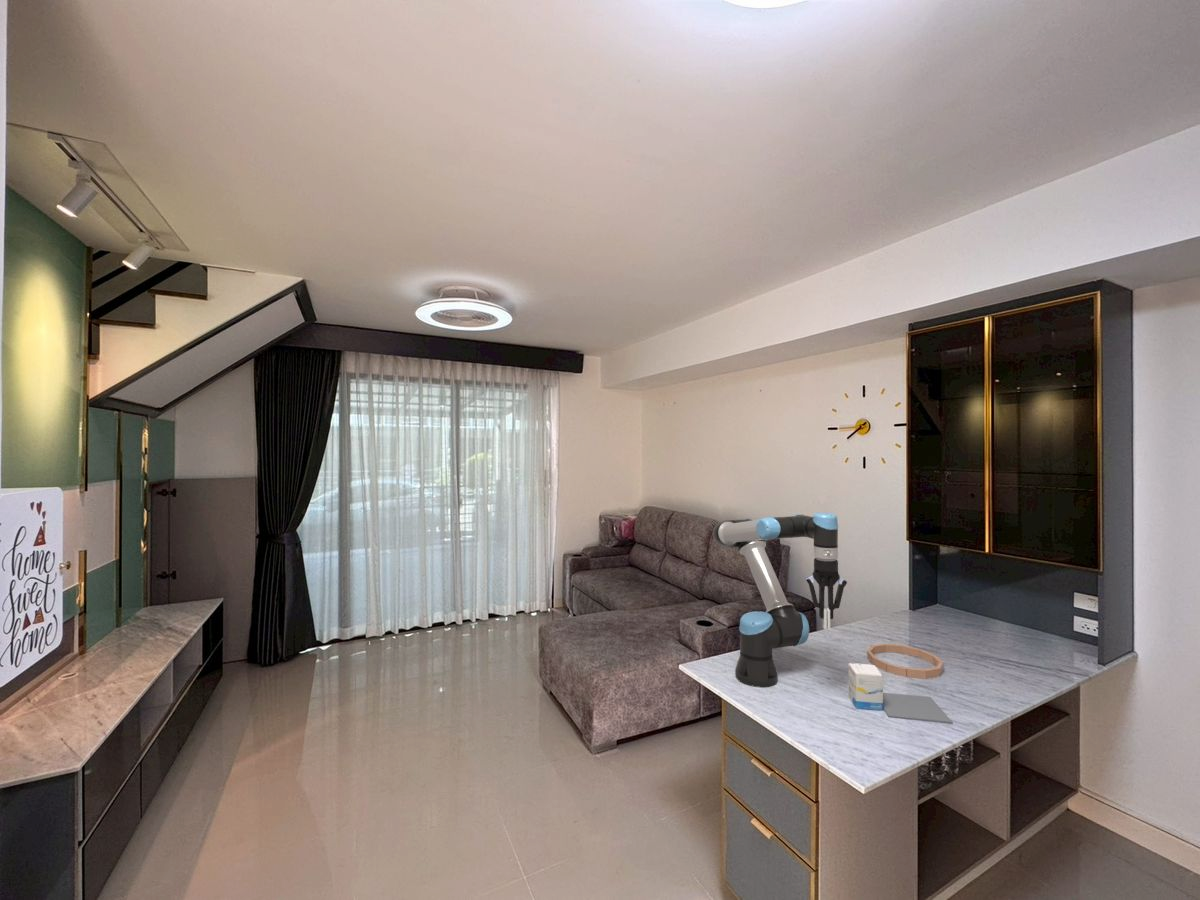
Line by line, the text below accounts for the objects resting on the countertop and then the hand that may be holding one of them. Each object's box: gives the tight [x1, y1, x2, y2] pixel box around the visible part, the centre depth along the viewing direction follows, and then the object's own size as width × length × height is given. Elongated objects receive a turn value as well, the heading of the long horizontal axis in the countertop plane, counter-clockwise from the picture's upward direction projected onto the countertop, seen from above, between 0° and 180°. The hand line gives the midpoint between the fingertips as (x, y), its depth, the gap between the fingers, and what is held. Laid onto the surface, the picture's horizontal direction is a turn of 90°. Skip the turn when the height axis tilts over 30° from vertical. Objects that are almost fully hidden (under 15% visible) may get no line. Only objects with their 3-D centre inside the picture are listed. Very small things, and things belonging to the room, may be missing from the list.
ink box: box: [848, 662, 884, 711], centre depth 166 cm, size 9×8×12 cm
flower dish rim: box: [866, 643, 944, 680], centre depth 196 cm, size 25×25×3 cm
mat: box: [883, 692, 954, 725], centre depth 163 cm, size 18×16×1 cm
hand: (826, 627), depth 168 cm, fingers closed
